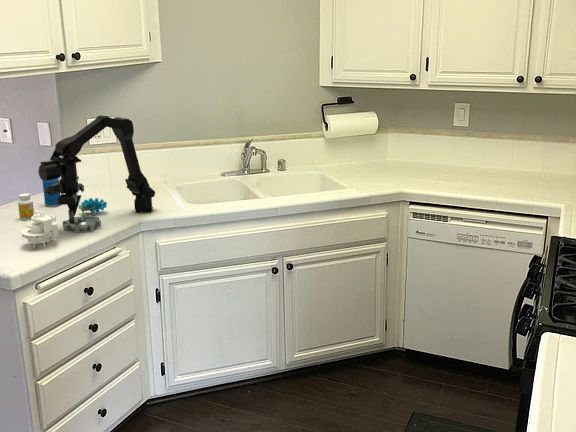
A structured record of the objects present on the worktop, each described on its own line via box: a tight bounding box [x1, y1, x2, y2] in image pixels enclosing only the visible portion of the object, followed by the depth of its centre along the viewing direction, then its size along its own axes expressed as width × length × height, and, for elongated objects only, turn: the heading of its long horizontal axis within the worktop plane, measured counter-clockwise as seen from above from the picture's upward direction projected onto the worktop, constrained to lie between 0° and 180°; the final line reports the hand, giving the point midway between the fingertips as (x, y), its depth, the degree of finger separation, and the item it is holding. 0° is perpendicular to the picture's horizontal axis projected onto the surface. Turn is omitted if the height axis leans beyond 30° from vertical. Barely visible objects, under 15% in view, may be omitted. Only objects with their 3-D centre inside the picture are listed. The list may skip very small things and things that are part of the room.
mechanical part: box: [20, 209, 60, 248], centre depth 225 cm, size 11×12×12 cm
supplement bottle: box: [17, 193, 35, 221], centre depth 254 cm, size 5×5×10 cm
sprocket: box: [62, 209, 102, 234], centre depth 242 cm, size 14×14×8 cm
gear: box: [78, 197, 108, 217], centre depth 260 cm, size 11×6×10 cm
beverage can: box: [41, 178, 61, 208], centre depth 272 cm, size 6×6×12 cm
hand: (73, 215), depth 242 cm, fingers closed
